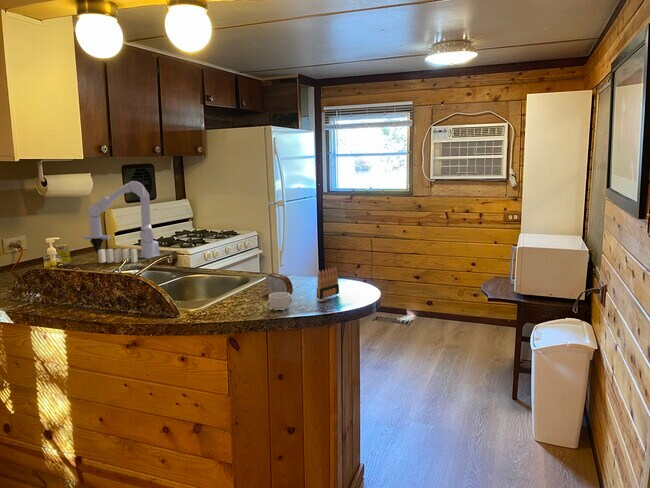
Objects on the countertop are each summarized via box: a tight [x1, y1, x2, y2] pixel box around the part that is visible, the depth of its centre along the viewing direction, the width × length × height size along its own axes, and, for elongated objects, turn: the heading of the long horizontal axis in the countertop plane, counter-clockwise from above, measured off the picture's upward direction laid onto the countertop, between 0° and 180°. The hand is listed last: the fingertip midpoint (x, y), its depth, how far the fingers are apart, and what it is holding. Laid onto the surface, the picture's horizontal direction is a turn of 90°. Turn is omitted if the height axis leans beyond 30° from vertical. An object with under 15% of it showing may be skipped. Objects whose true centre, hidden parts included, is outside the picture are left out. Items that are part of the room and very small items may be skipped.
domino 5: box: [129, 248, 139, 263], centre depth 269 cm, size 2×5×7 cm, turn 178°
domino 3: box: [113, 248, 123, 264], centre depth 270 cm, size 2×5×7 cm, turn 177°
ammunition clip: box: [316, 265, 340, 299], centre depth 187 cm, size 11×2×12 cm, turn 136°
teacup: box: [265, 292, 291, 310], centre depth 174 cm, size 10×8×5 cm
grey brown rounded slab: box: [265, 272, 294, 296], centre depth 193 cm, size 15×3×8 cm, turn 41°
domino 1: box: [97, 248, 107, 264], centre depth 270 cm, size 2×5×7 cm, turn 177°
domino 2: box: [105, 248, 115, 264], centre depth 270 cm, size 2×5×7 cm, turn 177°
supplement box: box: [52, 243, 72, 267], centre depth 264 cm, size 6×6×11 cm
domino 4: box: [121, 248, 131, 263], centre depth 270 cm, size 2×5×7 cm, turn 177°
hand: (98, 252), depth 270 cm, fingers closed
